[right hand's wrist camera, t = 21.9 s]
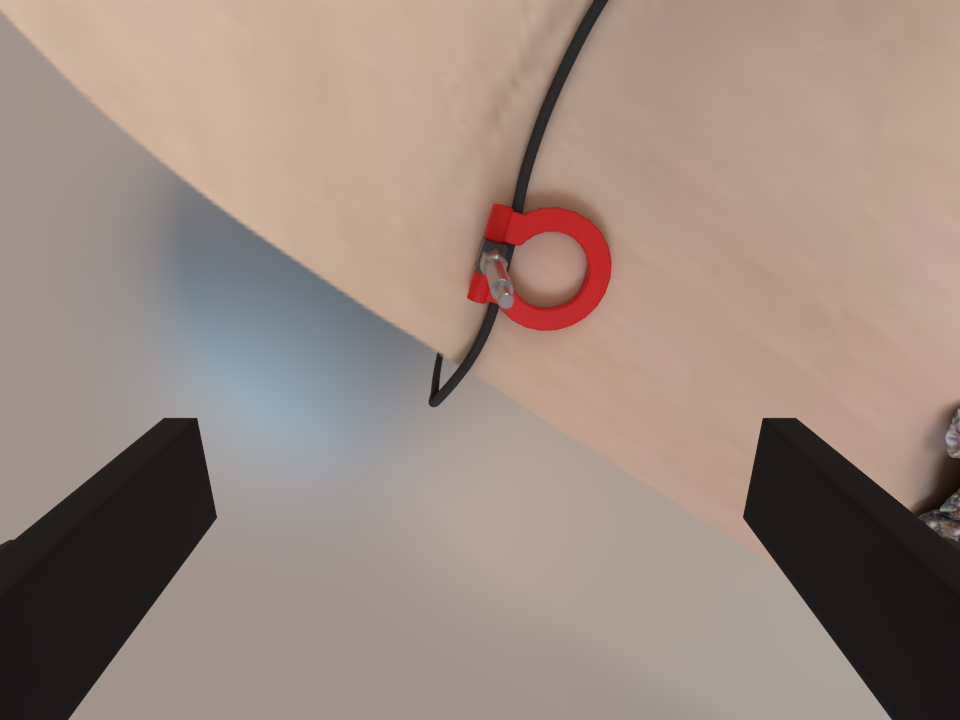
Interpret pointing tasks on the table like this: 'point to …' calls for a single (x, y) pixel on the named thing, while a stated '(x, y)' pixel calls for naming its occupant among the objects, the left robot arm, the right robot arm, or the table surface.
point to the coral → (956, 513)
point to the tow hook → (516, 230)
